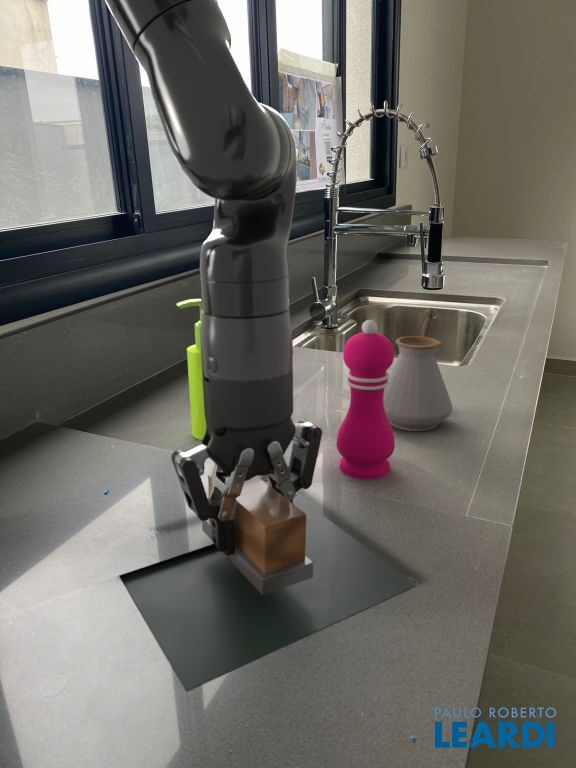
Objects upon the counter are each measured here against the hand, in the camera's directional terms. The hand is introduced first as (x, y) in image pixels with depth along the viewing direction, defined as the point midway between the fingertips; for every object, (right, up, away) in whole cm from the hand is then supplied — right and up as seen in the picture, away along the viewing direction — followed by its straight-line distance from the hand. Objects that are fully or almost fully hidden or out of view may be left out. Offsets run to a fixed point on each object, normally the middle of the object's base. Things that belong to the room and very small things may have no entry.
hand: (253, 540), depth 55 cm
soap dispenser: (-9, +7, +34) cm, 36 cm away
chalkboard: (0, -4, +1) cm, 4 cm away
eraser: (0, -1, 0) cm, 1 cm away
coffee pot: (+24, +10, +43) cm, 50 cm away
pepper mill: (+13, +3, +21) cm, 25 cm away
